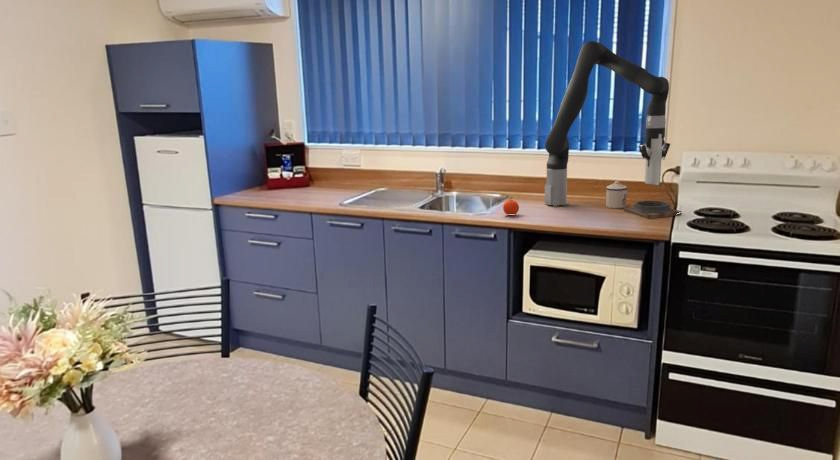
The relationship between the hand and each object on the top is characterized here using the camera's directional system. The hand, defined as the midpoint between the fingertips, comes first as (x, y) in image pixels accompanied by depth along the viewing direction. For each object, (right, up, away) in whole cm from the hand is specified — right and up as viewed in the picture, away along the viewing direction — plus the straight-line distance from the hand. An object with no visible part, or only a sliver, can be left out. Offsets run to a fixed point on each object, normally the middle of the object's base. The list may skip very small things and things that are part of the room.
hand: (653, 167), depth 246 cm
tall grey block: (0, -7, +2) cm, 7 cm away
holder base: (+1, -19, +5) cm, 19 cm away
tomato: (-58, -20, +13) cm, 63 cm away
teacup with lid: (-9, -15, +21) cm, 28 cm away
